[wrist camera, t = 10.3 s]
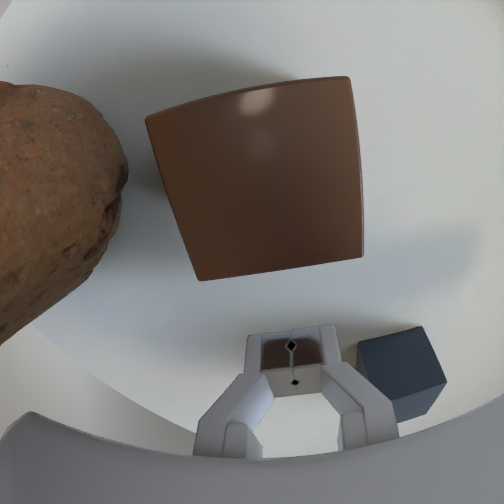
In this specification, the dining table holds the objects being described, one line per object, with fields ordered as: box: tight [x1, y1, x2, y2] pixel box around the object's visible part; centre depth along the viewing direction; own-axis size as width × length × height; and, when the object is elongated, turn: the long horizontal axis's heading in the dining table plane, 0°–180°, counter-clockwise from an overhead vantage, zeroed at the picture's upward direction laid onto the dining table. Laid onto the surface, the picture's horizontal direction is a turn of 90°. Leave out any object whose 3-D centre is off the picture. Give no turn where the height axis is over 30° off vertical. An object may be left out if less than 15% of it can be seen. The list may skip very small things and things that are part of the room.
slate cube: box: [356, 327, 447, 423], centre depth 14 cm, size 4×4×4 cm
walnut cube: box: [145, 76, 364, 281], centre depth 8 cm, size 4×4×4 cm
